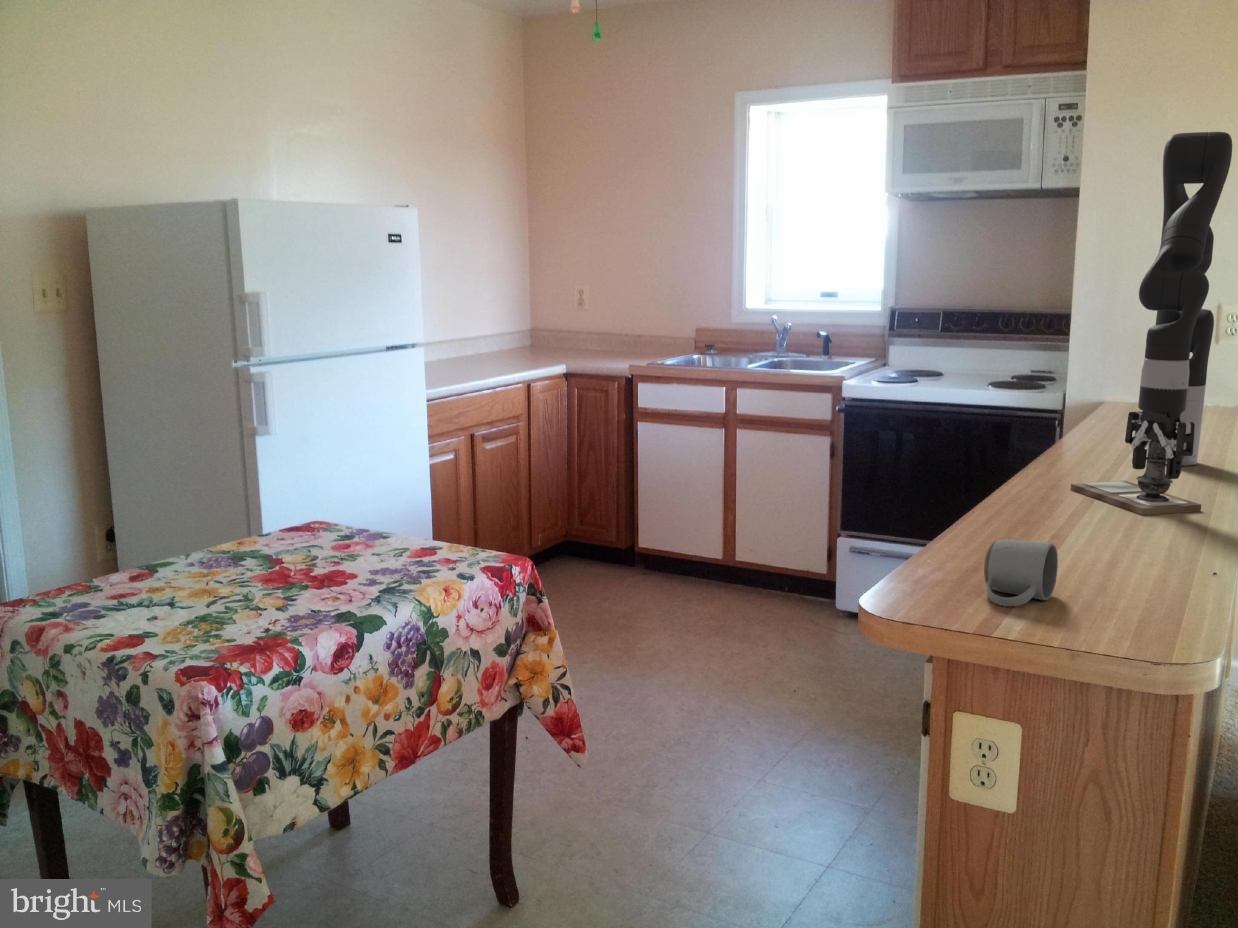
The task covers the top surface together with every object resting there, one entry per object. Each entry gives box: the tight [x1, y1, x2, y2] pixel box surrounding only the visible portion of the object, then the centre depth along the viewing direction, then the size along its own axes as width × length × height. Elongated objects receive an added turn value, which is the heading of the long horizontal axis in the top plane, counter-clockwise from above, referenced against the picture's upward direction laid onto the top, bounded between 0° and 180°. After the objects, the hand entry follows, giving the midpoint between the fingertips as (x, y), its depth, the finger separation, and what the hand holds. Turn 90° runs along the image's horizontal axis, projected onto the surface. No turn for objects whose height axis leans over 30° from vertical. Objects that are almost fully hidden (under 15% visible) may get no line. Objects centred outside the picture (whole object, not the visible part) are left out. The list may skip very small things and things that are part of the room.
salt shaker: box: [1135, 440, 1174, 502], centre depth 185 cm, size 6×6×12 cm
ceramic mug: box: [983, 539, 1059, 607], centre depth 138 cm, size 11×8×8 cm
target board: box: [1070, 480, 1202, 516], centre depth 191 cm, size 20×12×1 cm, turn 12°
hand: (1154, 473), depth 185 cm, fingers open, 8 cm apart
